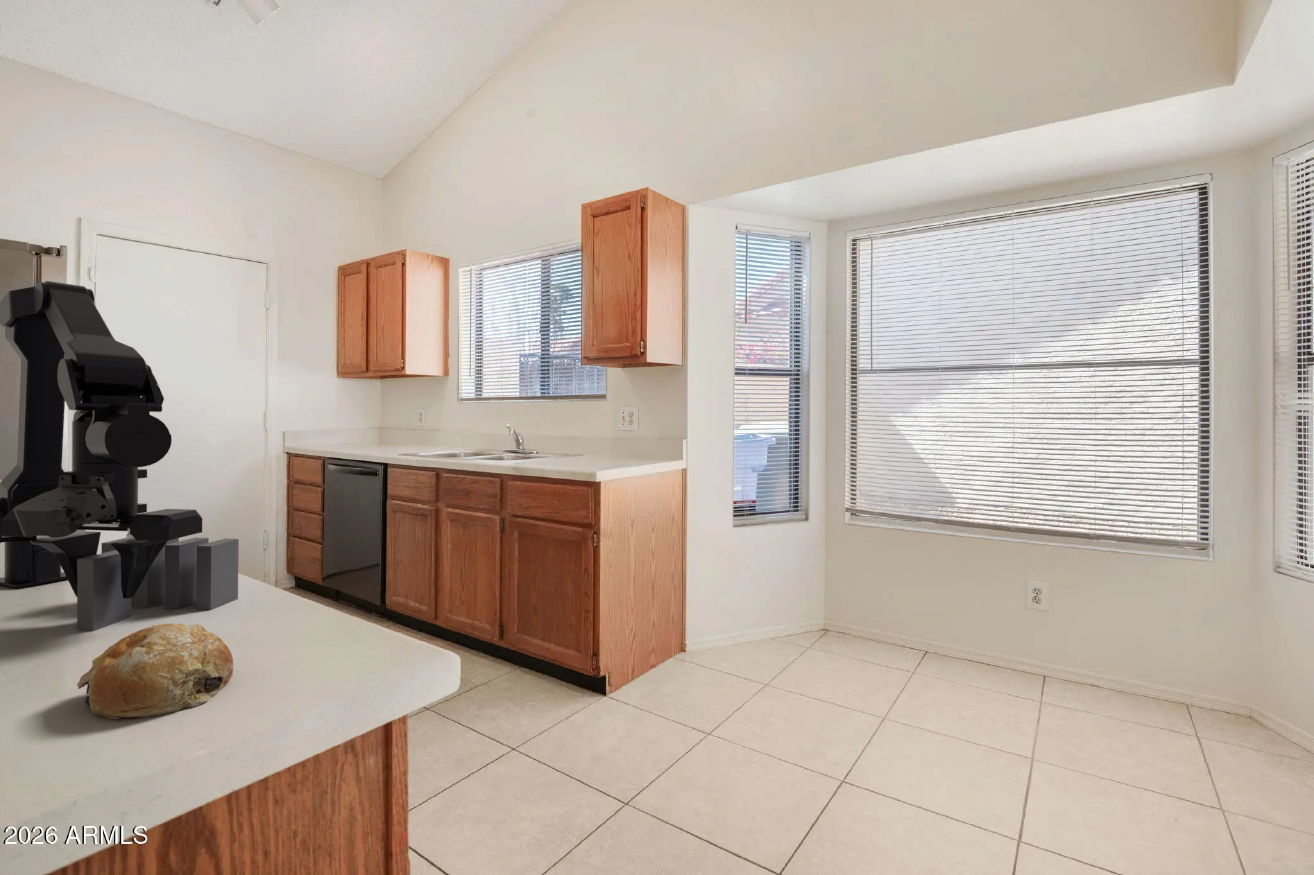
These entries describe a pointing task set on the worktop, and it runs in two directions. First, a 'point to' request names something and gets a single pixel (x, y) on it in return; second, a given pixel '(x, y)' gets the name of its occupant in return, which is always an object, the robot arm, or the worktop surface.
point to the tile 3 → (153, 583)
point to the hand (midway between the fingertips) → (105, 597)
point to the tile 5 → (217, 573)
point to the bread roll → (157, 672)
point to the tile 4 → (181, 572)
